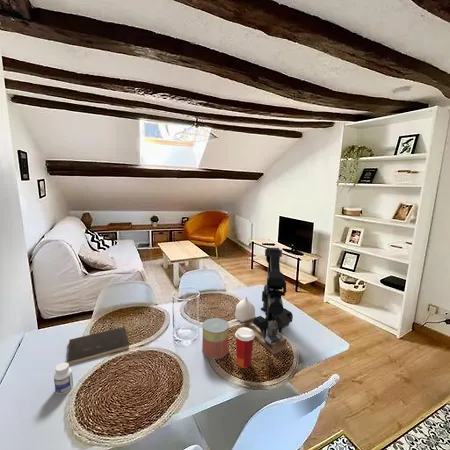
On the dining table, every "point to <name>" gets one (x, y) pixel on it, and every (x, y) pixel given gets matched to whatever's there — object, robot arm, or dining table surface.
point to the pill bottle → (63, 378)
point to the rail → (274, 348)
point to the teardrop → (244, 310)
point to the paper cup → (244, 346)
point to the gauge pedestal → (273, 323)
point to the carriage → (272, 335)
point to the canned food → (215, 338)
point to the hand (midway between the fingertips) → (272, 335)
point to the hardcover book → (97, 345)
